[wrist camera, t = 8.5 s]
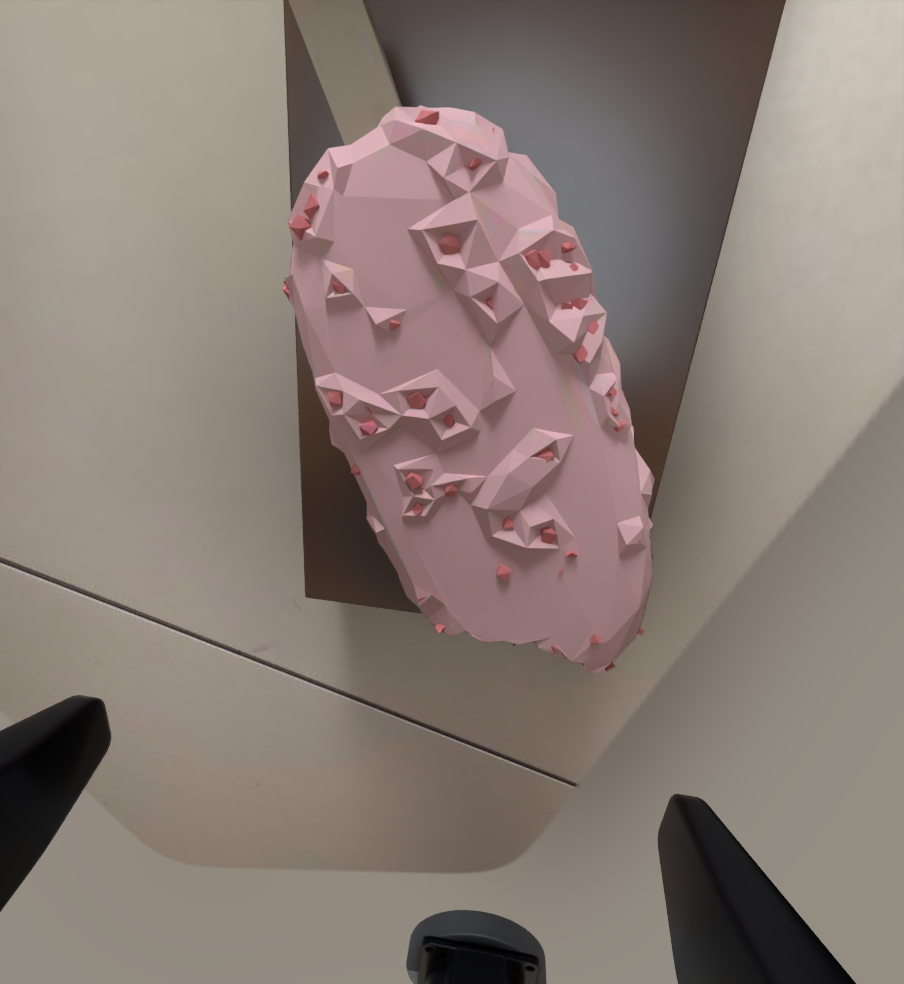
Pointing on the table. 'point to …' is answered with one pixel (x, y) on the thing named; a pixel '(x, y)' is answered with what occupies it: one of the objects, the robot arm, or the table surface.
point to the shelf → (560, 191)
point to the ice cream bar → (466, 365)
